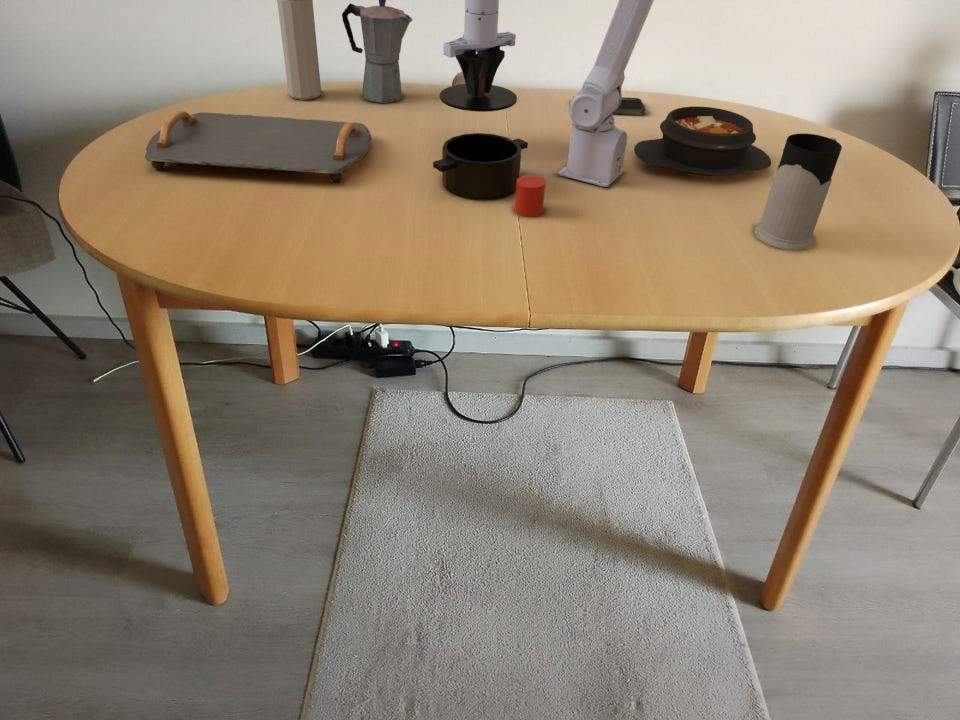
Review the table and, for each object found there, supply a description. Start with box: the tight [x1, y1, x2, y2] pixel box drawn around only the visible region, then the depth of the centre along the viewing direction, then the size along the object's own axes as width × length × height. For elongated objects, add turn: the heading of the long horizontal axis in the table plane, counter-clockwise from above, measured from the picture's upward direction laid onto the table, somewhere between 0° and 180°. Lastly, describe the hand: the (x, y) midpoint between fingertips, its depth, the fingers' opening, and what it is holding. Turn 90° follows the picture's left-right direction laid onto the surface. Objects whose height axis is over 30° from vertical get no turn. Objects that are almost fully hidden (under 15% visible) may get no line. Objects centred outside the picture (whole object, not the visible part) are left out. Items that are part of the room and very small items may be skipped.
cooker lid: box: [439, 75, 518, 113], centre depth 130 cm, size 14×14×4 cm
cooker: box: [432, 132, 529, 201], centre depth 123 cm, size 13×18×6 cm
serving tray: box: [144, 110, 373, 184], centre depth 129 cm, size 39×23×6 cm, turn 85°
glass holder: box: [754, 132, 843, 251], centre depth 110 cm, size 9×14×15 cm, turn 137°
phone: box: [572, 95, 646, 116], centre depth 157 cm, size 8×1×15 cm
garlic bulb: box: [451, 71, 466, 86], centre depth 158 cm, size 8×7×8 cm
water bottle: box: [276, 0, 322, 101], centre depth 150 cm, size 9×8×25 cm
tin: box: [514, 174, 546, 218], centre depth 116 cm, size 5×5×5 cm
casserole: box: [633, 106, 772, 177], centre depth 132 cm, size 25×19×8 cm
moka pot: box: [341, 0, 413, 104], centre depth 152 cm, size 10×15×20 cm, turn 78°
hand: (478, 92), depth 131 cm, fingers closed on cooker lid, 2 cm apart
